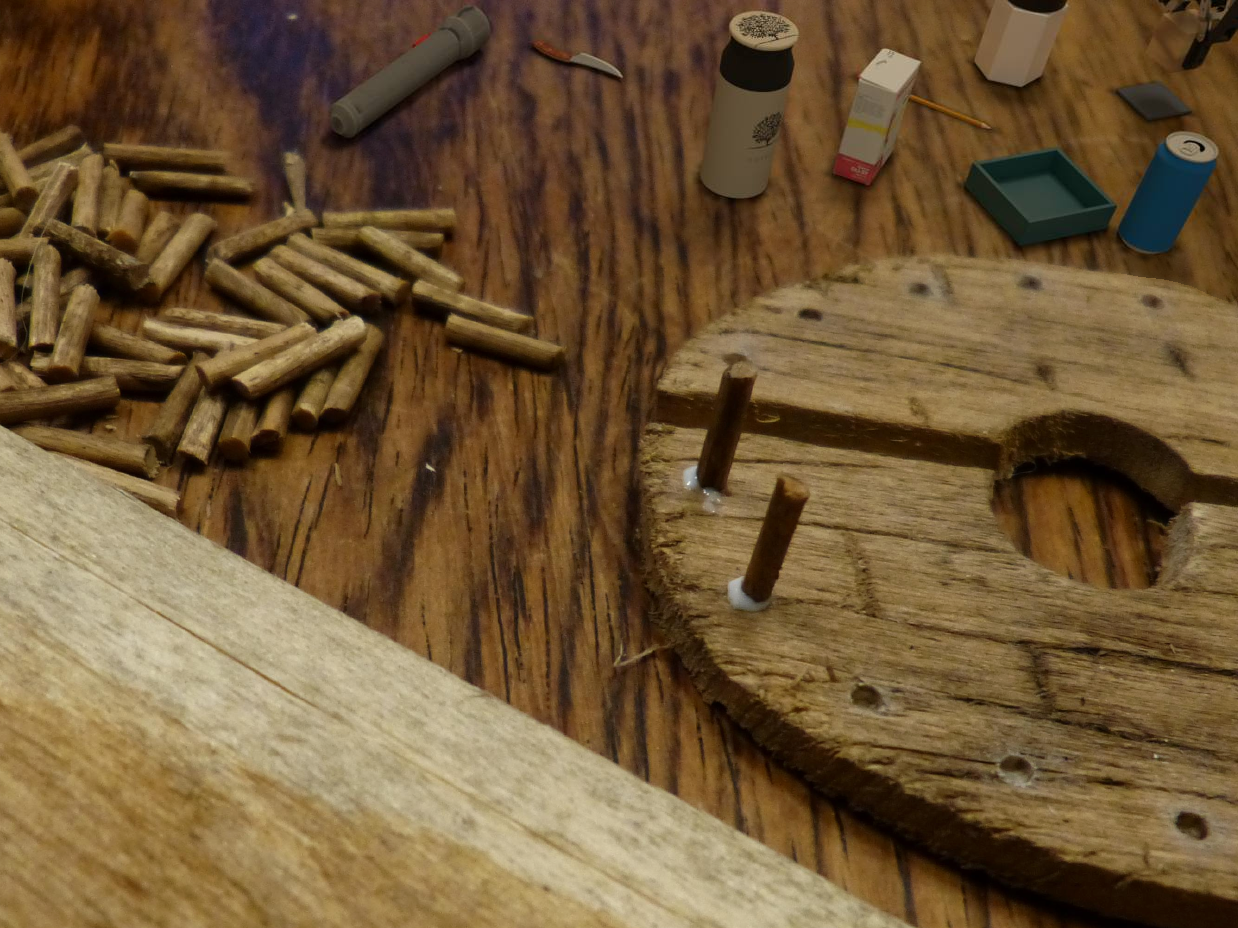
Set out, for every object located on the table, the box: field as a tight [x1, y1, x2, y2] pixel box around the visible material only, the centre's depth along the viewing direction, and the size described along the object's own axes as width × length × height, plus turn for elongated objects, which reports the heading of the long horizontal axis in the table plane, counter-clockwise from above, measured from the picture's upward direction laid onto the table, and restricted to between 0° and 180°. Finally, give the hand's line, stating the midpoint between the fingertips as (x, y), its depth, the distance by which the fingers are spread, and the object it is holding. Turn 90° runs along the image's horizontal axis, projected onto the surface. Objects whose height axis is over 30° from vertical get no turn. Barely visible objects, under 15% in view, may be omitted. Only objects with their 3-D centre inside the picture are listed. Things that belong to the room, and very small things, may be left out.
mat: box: [1115, 81, 1193, 121], centre depth 166 cm, size 7×7×1 cm
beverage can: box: [1117, 131, 1219, 255], centre depth 143 cm, size 6×6×12 cm
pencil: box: [856, 73, 994, 131], centre depth 162 cm, size 19×1×1 cm, turn 56°
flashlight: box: [328, 5, 491, 139], centre depth 154 cm, size 5×28×5 cm
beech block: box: [1145, 8, 1214, 74], centre depth 159 cm, size 5×5×5 cm
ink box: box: [832, 48, 922, 186], centre depth 149 cm, size 9×5×12 cm, turn 151°
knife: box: [532, 39, 624, 79], centre depth 162 cm, size 13×1×3 cm
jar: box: [973, 0, 1069, 88], centre depth 163 cm, size 9×8×12 cm
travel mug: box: [700, 10, 800, 199], centre depth 142 cm, size 8×8×18 cm
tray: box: [963, 146, 1118, 247], centre depth 149 cm, size 12×12×3 cm
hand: (1175, 55), depth 161 cm, fingers closed on beech block, 5 cm apart
